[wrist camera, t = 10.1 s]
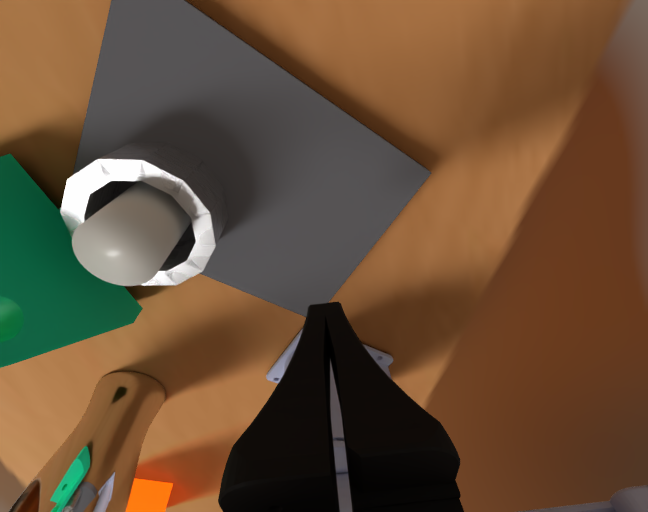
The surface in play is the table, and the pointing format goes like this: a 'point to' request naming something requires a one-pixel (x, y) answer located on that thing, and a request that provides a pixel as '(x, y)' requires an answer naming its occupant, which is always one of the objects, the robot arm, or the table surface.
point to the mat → (249, 150)
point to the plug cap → (131, 235)
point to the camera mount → (47, 277)
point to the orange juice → (149, 496)
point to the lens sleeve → (167, 175)
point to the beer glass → (98, 450)
